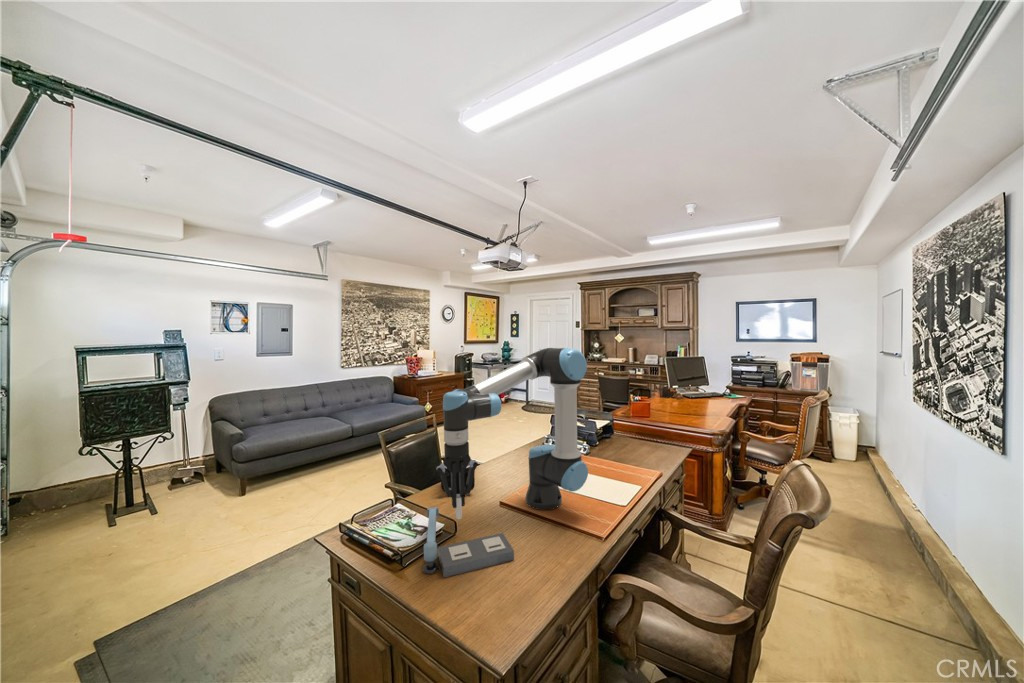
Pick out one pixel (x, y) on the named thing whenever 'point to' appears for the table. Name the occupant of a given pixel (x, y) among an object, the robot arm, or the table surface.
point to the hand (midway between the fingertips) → (458, 516)
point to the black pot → (448, 478)
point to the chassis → (474, 554)
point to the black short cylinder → (430, 567)
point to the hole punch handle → (431, 535)
